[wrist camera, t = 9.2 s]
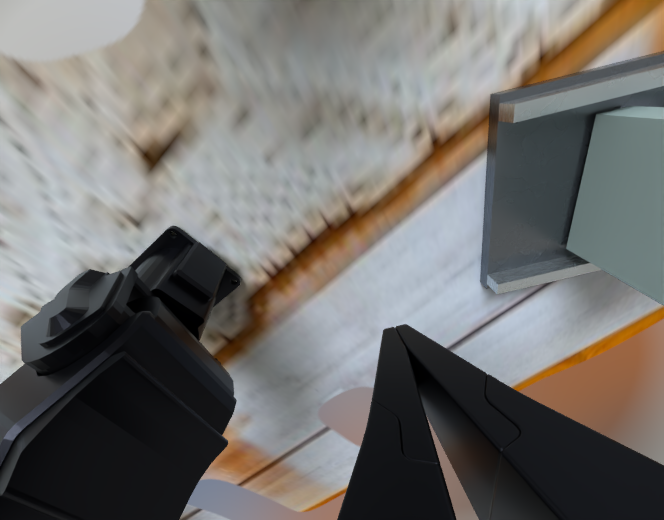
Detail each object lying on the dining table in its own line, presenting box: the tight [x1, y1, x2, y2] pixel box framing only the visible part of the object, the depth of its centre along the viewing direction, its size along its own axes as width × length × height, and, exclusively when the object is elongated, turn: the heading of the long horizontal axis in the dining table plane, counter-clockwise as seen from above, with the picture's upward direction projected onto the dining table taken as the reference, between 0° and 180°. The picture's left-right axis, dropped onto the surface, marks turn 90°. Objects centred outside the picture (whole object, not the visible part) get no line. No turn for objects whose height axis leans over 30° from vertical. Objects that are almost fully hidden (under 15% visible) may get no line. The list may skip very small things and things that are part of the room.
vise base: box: [480, 51, 664, 294], centre depth 21 cm, size 16×15×2 cm
